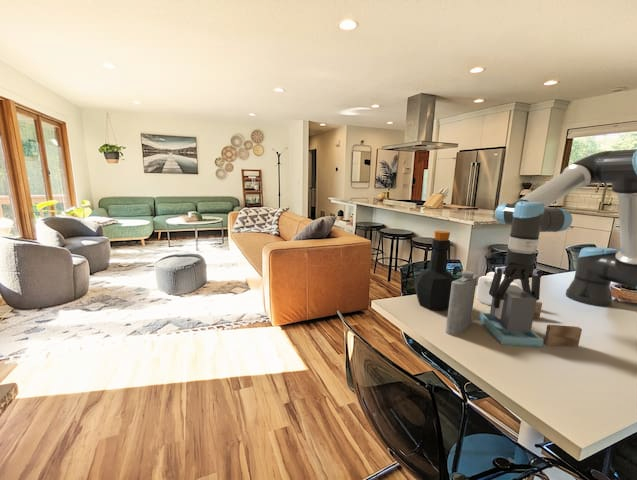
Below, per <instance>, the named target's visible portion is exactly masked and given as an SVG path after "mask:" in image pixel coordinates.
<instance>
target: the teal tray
mask: <svg viewBox="0 0 637 480" xmlns="http://www.w3.org/2000/svg"><path fill="white" fill-rule="evenodd" d="M477 319H478V320H479V322H480V323H481V324H482V325H483V326H484V327H485V328H486V329H487V331H488V332H489V333H490V334H491V335H492V336H493V337H494V338H495V339H496V341H498V343H499V345H506V346H508V345H509V346H519V347H520V346H521V347H534V348H535V347H536V348H543V345H544V339H543V338H542V337H541V336H539V334H537V333H536V332H535V331H534V330H533V329H531V332H520V331H507V330H506V329H505V328H504V327H503V326H502V325H501V324H500V323H499V322H498V321H497V320H496V319H495V318H494V317H493V316H492V315H491V314H490V312H478V318H477Z"/></svg>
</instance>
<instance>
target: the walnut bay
mask: <svg viewBox="0 0 637 480" xmlns="http://www.w3.org/2000/svg"><path fill="white" fill-rule="evenodd" d="M542 307H543V302H541V301H540V300H537V302H536V307H535V312H534V318H533V319H540V317H541V312H542ZM582 330H583V329H582V328H581V327H580V326H573V325H572V326H569V325H559V324H547V325H546V330H545V335H544V339H543V340H544V341H543V344H546V345H550V346H557V347H558V346H561V347H570V348H571V347H573V348H579V344H580V340H581V335H582V332H583V331H582Z"/></svg>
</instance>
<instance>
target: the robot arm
mask: <svg viewBox="0 0 637 480" xmlns="http://www.w3.org/2000/svg"><path fill="white" fill-rule="evenodd" d="M593 184H603V185H605V184H606V185H607V184H609V185H610V184H611V191H612V192H613V193H614V194H616V195H617V196H618V197H617V199H618V220H619V221H618V223H619V241H620V243H619V245H620V250H619V249H616V248H609V247H598V246H597V247H595V246H591V247H590V246H589V247H582V248H581V249H580V251H579V254H578V256H577V258H578V259H577V262H576V263H577V264H576V269H575V274H574V277H573V278H574V279H572V281H571V283H570V284H569V286H568V287H567V289H566V290H565V295H566V297H568V298H569V299H571V300H574V301H576V302H579V303H583V304H587V305H593V306H597V307H599V306H600V307H609V306H612V304H613V297H612V292H611V290H612V289H611V282H612V283H615V284H618V285H622V286H626V287H630V288H634V289H635V290H637V148H635V149H621V150H604V151H599V152H596V153H593V154H590V155H588V156H585V157H583V158H581V159H578V160H576V161H575V162H573V163H572V164H570V165H568V166H566V167H565V168H564V169H563V171H562V172H561V173H560V174H558V175H556V176H555V177H553V178H551V179H550V180H548V181H547V182H545V183H543V184H542V185H541V186H539V187H537V188H536V189H534V190H532V191H531V192H529V193H527V194H526V195H524V196H522V197H520V198H519V199H518V200H516V201H514V202H512V203H509V202H507V203H501V204H499V205H497V207H496V209H495V212H494V217H495V221H496V222H498V223H499V224H502V225H503V224H504V225H506V226H511V229H510V233H509V239H508V245H507V248H508V250H507V251H506V257H505V263H504V265H503V266H494V271H493V272H495V274H494V277H493V281H492V284H491V288H490V291H489V294H490V295H491V296H492V297H494V298H495V299H494V307H495V308H496V309H495V316H496V317H497V318H498V319H501V314H502V308H503V302H504V300H503V299H502V297H503V295H504V294H505V292H506V290H507V289H508V287H509V285H510V284H511V282H513V281H514V280H516V279H520V280H521V284H522V288H523V291H525V292H526V293H528V294H530V295H531V296H533V297H534V298H536V299H537V301H540V291H541V278H542V275H543V270H540V269H538V268H534V264H535V260H536V256H537V255H536V252H537V248H538V243H539V242H538V241H539V237H540V233H550V232H551V233H557V232H563V231H566V230H567V229H569V228H570V226H571V225H572V222H573V215H572V214H571V212H570V211H568V209H565V208H560V207H554V208H552V207H550V206H551V205H553V204H555V203H556V202H558V201H559V200H561V199H563V198H564V197H566V196H568V194H570V193H572V192H573V191H575V190H577V189H582V188H585V187H587V186H589V185H593ZM504 272H505V274H504ZM502 274H504V275H505V276H504V279H503V281H502V283H501V285H500V281H501V278H502ZM530 275H532V276H531V282H530V277H529V276H530ZM509 277H510V278H509ZM530 283H531V286H530ZM499 285H500V286H499Z"/></svg>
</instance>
